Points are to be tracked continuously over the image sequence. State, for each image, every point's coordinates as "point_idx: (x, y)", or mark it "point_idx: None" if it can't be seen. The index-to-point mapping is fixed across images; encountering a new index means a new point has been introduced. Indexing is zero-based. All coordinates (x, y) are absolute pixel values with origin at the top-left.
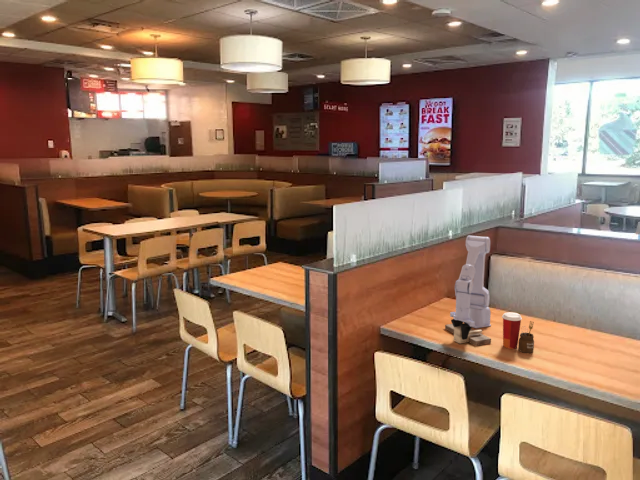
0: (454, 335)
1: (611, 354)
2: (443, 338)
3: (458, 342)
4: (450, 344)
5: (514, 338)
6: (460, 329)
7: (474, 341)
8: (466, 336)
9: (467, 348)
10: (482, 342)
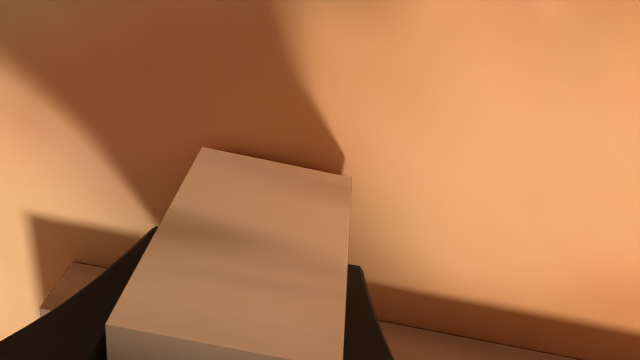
0: (329, 228)
1: None
2: (539, 129)
3: (219, 154)
4: (270, 18)
5: None
6: (140, 357)
7: None
8: None
9: (17, 114)
10: None
